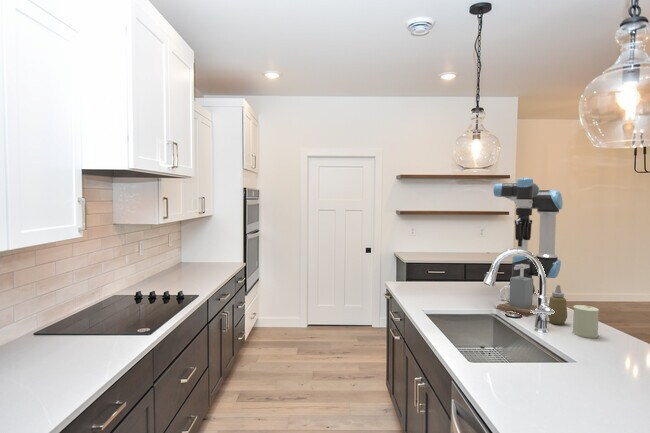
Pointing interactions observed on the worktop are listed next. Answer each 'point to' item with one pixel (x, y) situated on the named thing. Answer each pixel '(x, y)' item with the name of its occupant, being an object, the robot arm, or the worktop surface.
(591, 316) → the can
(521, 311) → the walnut caddy
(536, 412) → the worktop surface
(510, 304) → the soap dispenser
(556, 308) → the squeeze bottle
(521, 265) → the pump head
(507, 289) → the cup
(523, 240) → the robot arm
